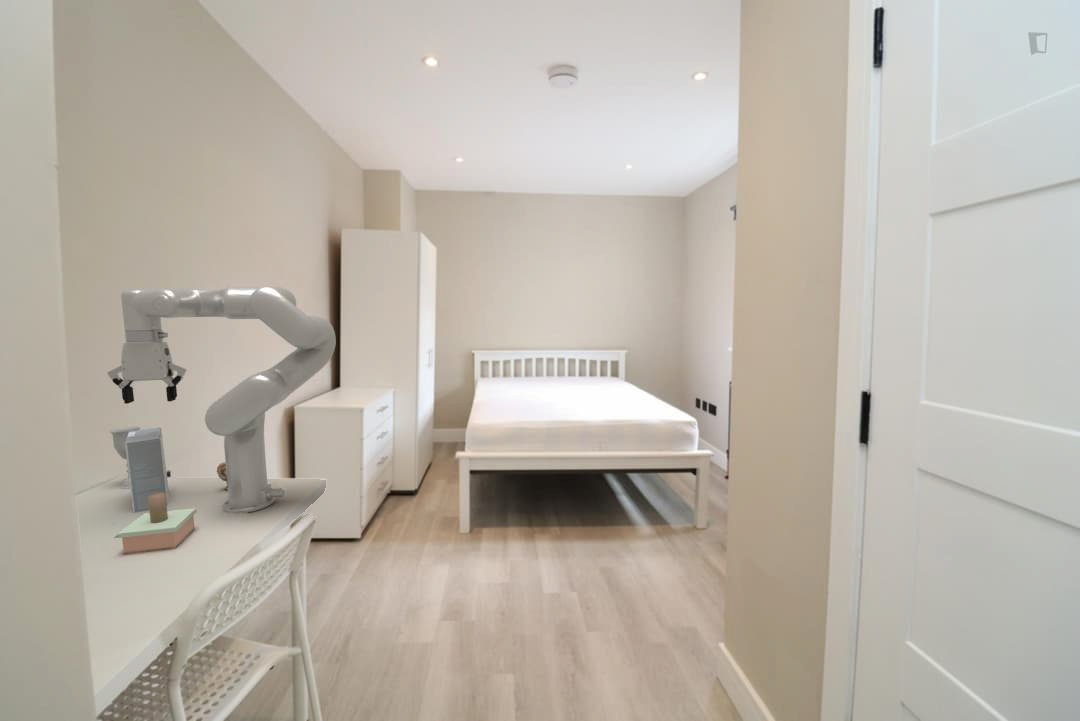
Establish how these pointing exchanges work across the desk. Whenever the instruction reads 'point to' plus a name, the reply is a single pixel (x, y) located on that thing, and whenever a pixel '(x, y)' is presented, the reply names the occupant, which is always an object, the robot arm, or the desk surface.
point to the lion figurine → (222, 471)
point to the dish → (158, 540)
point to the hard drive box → (146, 466)
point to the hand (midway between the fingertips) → (150, 401)
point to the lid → (157, 519)
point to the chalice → (122, 446)
